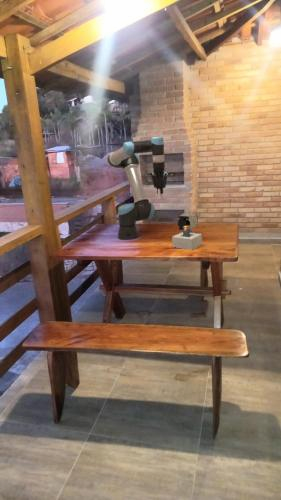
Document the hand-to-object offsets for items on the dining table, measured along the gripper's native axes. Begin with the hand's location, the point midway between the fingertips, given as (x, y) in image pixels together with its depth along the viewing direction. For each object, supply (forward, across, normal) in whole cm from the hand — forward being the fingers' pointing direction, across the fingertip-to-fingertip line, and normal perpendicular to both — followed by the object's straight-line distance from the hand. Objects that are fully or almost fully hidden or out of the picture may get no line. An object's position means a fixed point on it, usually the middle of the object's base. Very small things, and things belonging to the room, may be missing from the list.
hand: (160, 198), depth 250 cm
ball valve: (+30, +10, +18) cm, 36 cm away
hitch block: (+29, +20, -1) cm, 35 cm away
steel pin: (+28, +20, -1) cm, 34 cm away
